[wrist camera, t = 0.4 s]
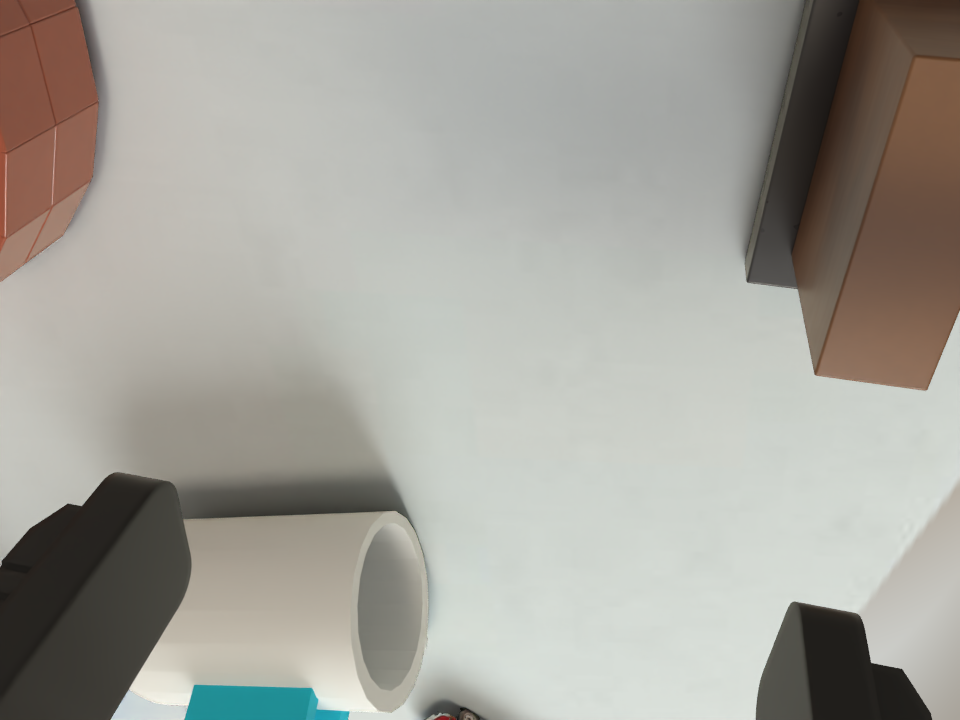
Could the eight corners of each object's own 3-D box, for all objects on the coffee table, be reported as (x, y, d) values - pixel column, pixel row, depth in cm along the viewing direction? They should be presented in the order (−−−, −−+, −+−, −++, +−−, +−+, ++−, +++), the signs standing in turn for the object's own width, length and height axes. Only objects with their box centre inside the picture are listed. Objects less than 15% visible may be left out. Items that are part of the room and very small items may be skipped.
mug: (11, 736, 30) (323, 752, 26) (97, 493, 35) (370, 479, 31) (199, 786, 39) (448, 803, 36) (246, 588, 44) (469, 586, 41)
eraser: (822, -73, 21) (870, -11, 15) (1021, -60, 20) (1151, 10, 14) (744, 263, 26) (757, 405, 20) (900, 282, 25) (960, 434, 19)
